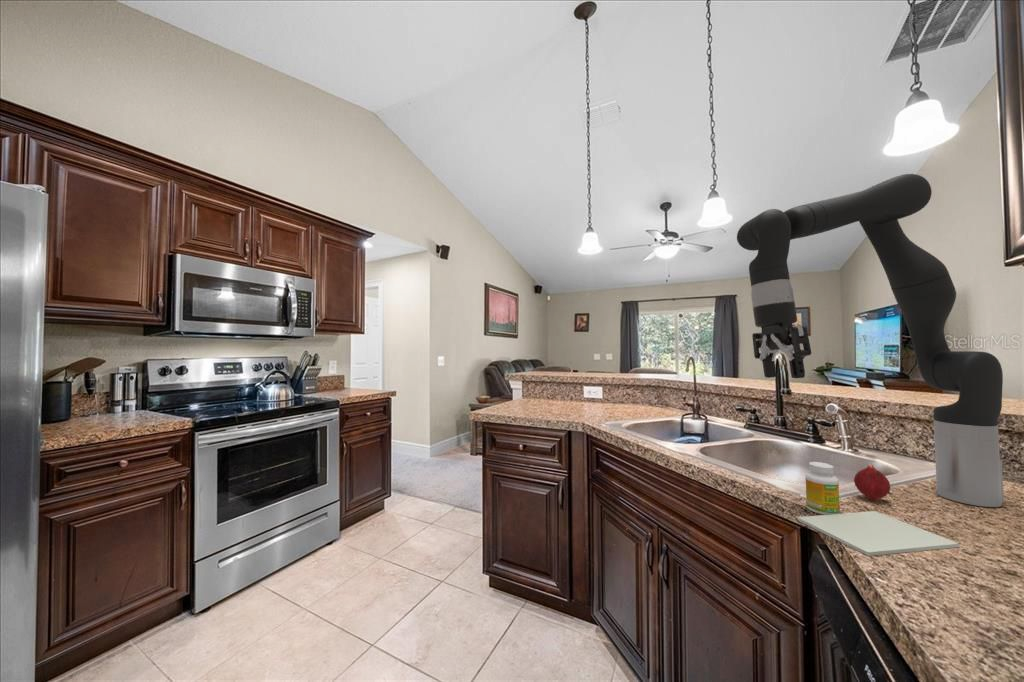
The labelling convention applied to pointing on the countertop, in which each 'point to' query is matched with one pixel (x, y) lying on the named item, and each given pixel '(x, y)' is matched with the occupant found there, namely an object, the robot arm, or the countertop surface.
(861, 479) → the onion
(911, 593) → the countertop surface
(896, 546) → the mat
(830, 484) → the supplement bottle
